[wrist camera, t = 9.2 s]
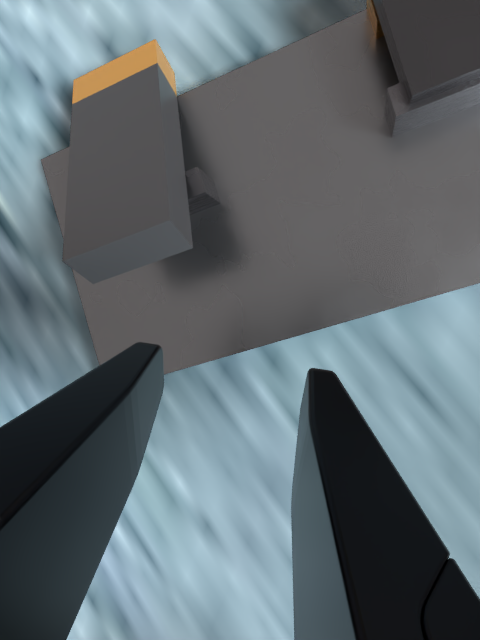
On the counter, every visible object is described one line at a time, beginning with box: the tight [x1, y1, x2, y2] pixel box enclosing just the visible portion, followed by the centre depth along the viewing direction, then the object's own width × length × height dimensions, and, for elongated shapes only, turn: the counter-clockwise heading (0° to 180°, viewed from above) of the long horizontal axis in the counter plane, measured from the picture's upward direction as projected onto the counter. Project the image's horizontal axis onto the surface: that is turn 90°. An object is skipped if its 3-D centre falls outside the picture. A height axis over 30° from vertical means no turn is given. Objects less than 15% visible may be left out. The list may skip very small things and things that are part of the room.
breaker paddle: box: [62, 39, 193, 284], centre depth 17 cm, size 2×4×10 cm
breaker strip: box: [41, 0, 480, 374], centre depth 17 cm, size 11×22×4 cm, turn 107°
